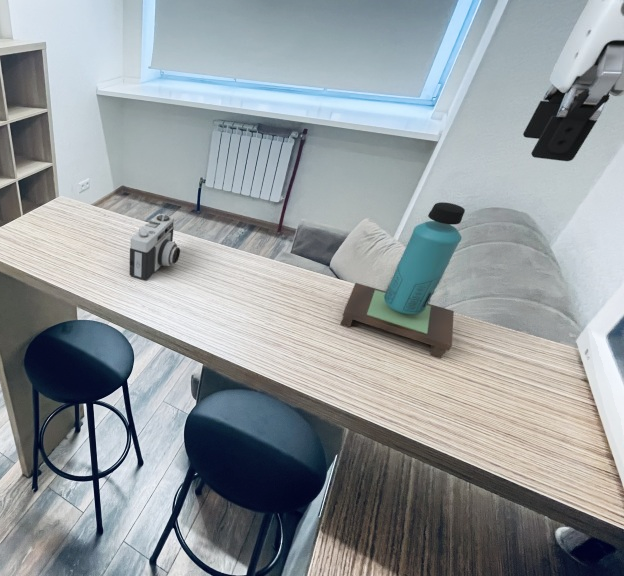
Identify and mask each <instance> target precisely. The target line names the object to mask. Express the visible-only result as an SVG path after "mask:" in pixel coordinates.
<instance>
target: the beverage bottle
mask: <svg viewBox="0 0 624 576" xmlns="http://www.w3.org/2000/svg"><path fill="white" fill-rule="evenodd" d="M465 212H466V210H465V208H464V207H463V206H460V205H458V204H456V203H453V202H452V203H451V202H437V203H435V204H433V206H432V208H431V209H430V211H429V212H428V215H427V217H428V218H429V219H430V220H429V221H425V222H421V223H419V224H417V225H416V226H414V228H413V230H412V231H413V232H412V234H411V235H410V237H409V239H408V243H407V245H406V247H405V248H404V250H403V253H402V254H401V256H400V258H399V261H398V263H397V265H396V268H395V270H394V272H393V275H391V277H390V279H389V283H388V285H387V288H386V290H385V291H386V294H385V296H384V300H385V303H386V304H387V305H388V306H389V307H391V308H392V309H394V310H396V311H398V312H401V313H405V314H420V313H422V312H423V311H424V310H426V309H427V308H426V306H427V304H428V305H429V304H431V300H432V298H433V296H434V295H435V292H436V290H437V288H438V287H439V284H440V283H441V281H442V279H443V276H444V275H445V272H446V271H447V269H448V267H449V264H450V262H451V259H452V257H453V256H454V253H455V252H456V250H457V247H458V245H459V243H460V242H461V241H462V239H463V237H462V235H461V233H460V232H459V230H458V229H457V228H456V227H455V226H453V225H460V224H461V223H462V220H463V217H464V215H465ZM425 308H426V309H425Z"/></svg>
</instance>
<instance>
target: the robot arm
mask: <svg viewBox="0 0 624 576" xmlns="http://www.w3.org/2000/svg"><path fill="white" fill-rule="evenodd" d="M576 21H577V22H576V23H575V25H574V27H573V29H572V31H571V33H570V34H569V37H568V38H567V40H566V42H565V44H564V46H563V48H562V49H561V52H560V54H559V57H558V59H557V61H556V62H555V64H554V67H553V69H552V71H551V73H550V76H549V82H550V83H551V85H550V86H549V87H548V89H547V91H546V92H545V94H544V96H543V97H542V100H540V101H539V103H538V105H537V107H536V109H535V110H534V112H533V114H532V116H531V118H530V120H529V122H528V124H527V126H526V127H525V129H524V131H523V133H522V135H523V137H524V138H527V139H537V142H536V143H535V146H534V147H533V149H532V150H531V156H532V157H533V158H535V159H544V160H552V161H561V162H571V161H573V160H574V159H575V157H576V156H577V154H578V152H579V151H580V149H581V148H582V146H583V144H584V143H585V141H586V140H587V138H588V136H589V135H590V133H591V132H592V130H593V128H594V127H595V125H596V123H597V122H598V119H599V117H600V116H601V115H602V112H603V110H604V107H605V105H606V103H607V102H608V101H609V100H610V97H611V96H614V97H621V96H624V0H587V3H586V5H585V7H584V8H583V10H582V12H581V14H580V16H579V18H578V19H577V20H576Z"/></svg>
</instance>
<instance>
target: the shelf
mask: <svg viewBox="0 0 624 576" xmlns="http://www.w3.org/2000/svg"><path fill="white" fill-rule="evenodd" d="M386 291H387V290H382V289H380V288H375V287H372V286H368V285H366V284H361V283H358V282H355V283H354V285H353V288H352V290H351V292H350V294H349V298H348V300H347V303H346V305H345V308H344V310H343V313H342V315H341V316H342V318H341V321H340V325H341V326H344V327H346V328H350V327H351V325H352V323H353V321H356V322H359V323H363V324H366V325H369V326H371V327H375V328H378V329H381V330H383V331H386V332H390V333H393V334H395V335H399V336H402V337H405V338H407V339H411V340H414V341H417V342H419V343H423V344H427V345H429V346H430V352H429V356H432V357H434V358H437V359H442V358H443V357H444V355H445V353H446V351H448V352H449V351H450V349H451V348H452V347H453V335H454V333H453V332H454V319H455V318H454V315H455V314H454V313H455V310H452V309H448V308H445V307H441V306H438V305H434V304H432V303H429V305H428V304H427V306H426V308H427V309H426V308H425V309H426V310H424V311H423V312H422V313H420V314H405V313H401V312H398V311H396V310H394V309H392V308H391V307H389V306H388V305H387V304H386V303H385V300H384V296H385V294H386Z"/></svg>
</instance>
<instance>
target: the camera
mask: <svg viewBox="0 0 624 576" xmlns="http://www.w3.org/2000/svg"><path fill="white" fill-rule="evenodd" d="M174 228H175V217H174V216H172V215H168V214H162V213H157V215H155V216H154V217H152V218H151V220H149V223H146V224H145V225H144V226H140V228H139V229H138V231H136V233H135V234H134V235H132V236H131V237H130V244H129V245H130V247H129V276H130V277H132V278H134V279H138V280H142V281H148V280H149V279H150V278H151V276H152V275H154V273H155V272H157V271H158V270H159V269H160V268H161V267H165V266H166V267H167V266H168V267H171V266H172V265H175V264H177V262H178V260H179V258H180V255H181V248H180V247H178V244H177V243H176V241H175V240H174V230H175V229H174Z"/></svg>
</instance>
